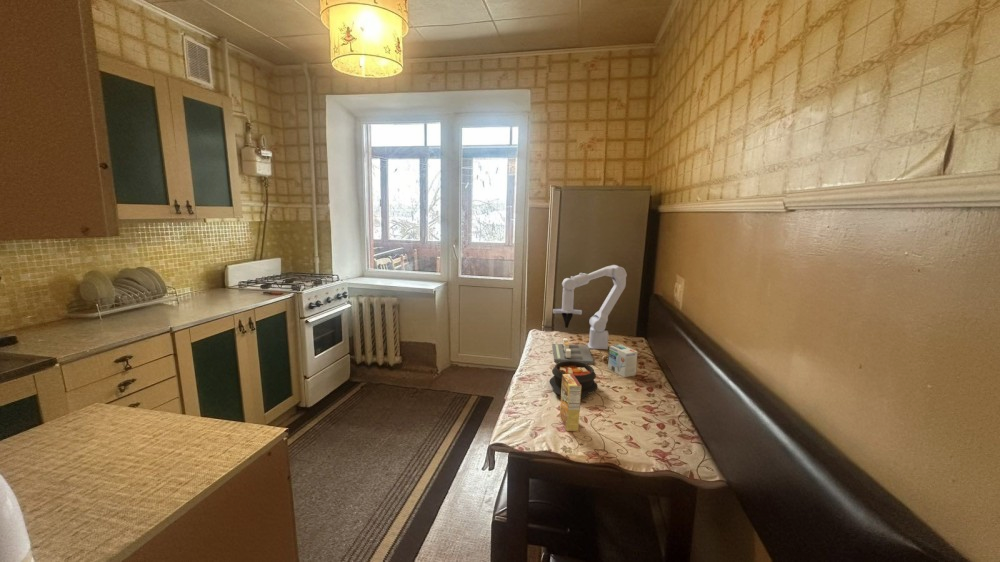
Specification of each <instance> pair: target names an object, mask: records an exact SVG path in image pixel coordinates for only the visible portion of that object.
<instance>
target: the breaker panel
mask: <svg viewBox="0 0 1000 562" xmlns="http://www.w3.org/2000/svg"><path fill="white" fill-rule="evenodd" d="M565 342H566V343H569V340H568V337H567V338H565V337H563V339H562V343H552V344H551V347H552V349H551V350H552V355H553V362H554V363H560V362H564V361H576V362H581V363H585V364H587V365H594V364H595V361H594V359H593V356H592V352H590V348H589V346H588V344H570V343H569V349H566V352H565V351H564V344H565Z"/></svg>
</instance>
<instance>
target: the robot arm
mask: <svg viewBox="0 0 1000 562" xmlns="http://www.w3.org/2000/svg"><path fill="white" fill-rule="evenodd" d="M604 276H605V277H609V278H611V279H612V283H613V286H612V288H611V289H610V291H609V293H608V295H607V296H606V298H605V300H604V301H603V302H602V305H601V306H600V307H599V310H598V311H596V312H595V313H594V315H592V316H591V317H590V318H589V321H588V322H589V326H590V328H589V335H588V336H589V337H588V338H589V339H588V340H589V342H587V344H586V345H587V346H588V348H589V350H591V349H593V350H594V349H595V350H609V331H608V330H605V329H606V328H607V323H608V321H609V315H610V314H611V312H612V311H613V309H614V307H615V305H616V304H617V302H618V301H619V298H620V297H621V295H622V294H623V292H624V290H625V288H626V286H627V277H628V274H627V272H626V269H625V268H624V267H622V266H619V265H617V264H611V265H608V266H607V265H606V266H605V267H602V268H600V269H597V270H595V271H592V272H590V273H585V272H584V273H583V272H579V274H577V275H574V276H573V275H571V276H570V278H569V277H566V278H564V279H563V281H562V282H561V286H562V296H561V297H562V299H561V308H552V314H561V316H562V319H563V321H564V327H565V329H568V328H569V325H570V322H571V320H572V318H573V315H580V316H581V315H582V313H583V310H582V309H574V298H575V293H574V292H575V289H576V288H579V287H582V286H585V285H587V284H589V283H590V281H592V280H595V279H598V278H602V277H604Z"/></svg>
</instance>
